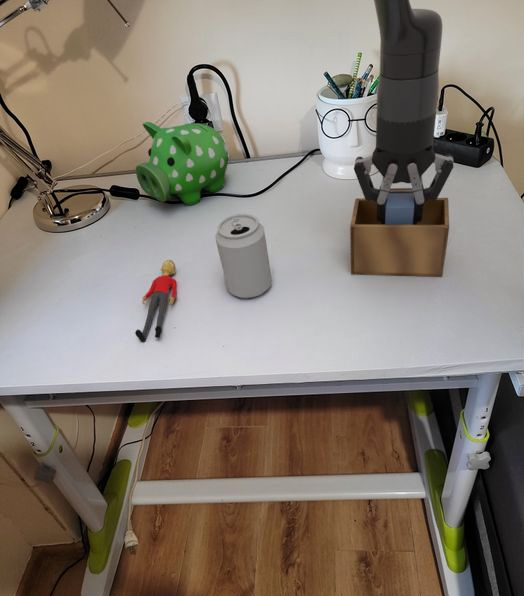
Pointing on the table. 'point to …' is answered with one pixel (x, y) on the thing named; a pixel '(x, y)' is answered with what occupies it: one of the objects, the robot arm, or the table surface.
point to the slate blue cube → (399, 209)
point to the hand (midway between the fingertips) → (399, 222)
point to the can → (244, 255)
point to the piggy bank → (183, 162)
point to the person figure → (159, 299)
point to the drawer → (399, 241)
